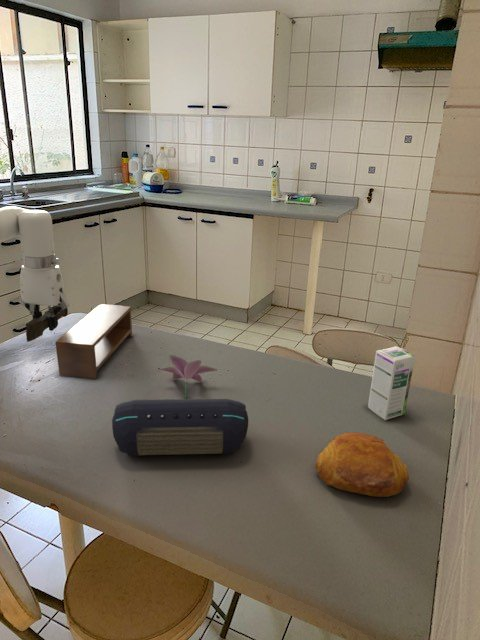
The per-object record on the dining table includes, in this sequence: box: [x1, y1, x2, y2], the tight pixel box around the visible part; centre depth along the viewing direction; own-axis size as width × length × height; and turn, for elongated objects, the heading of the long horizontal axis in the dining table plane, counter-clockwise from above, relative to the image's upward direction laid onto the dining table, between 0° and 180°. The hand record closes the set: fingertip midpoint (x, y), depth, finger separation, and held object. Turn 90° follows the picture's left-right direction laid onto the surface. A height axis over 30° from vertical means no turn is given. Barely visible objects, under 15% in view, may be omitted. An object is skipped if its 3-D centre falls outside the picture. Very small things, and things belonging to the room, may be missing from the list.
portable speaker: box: [111, 398, 249, 456], centre depth 86 cm, size 25×10×10 cm, turn 95°
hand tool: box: [25, 302, 69, 343], centre depth 122 cm, size 19×4×5 cm, turn 172°
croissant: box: [314, 431, 410, 498], centre depth 82 cm, size 14×16×8 cm
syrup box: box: [367, 345, 416, 421], centre depth 100 cm, size 6×6×14 cm
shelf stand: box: [54, 303, 133, 380], centre depth 121 cm, size 9×26×9 cm, turn 173°
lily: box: [159, 354, 218, 399], centre depth 106 cm, size 12×12×10 cm
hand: (46, 327), depth 123 cm, fingers closed on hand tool, 3 cm apart
